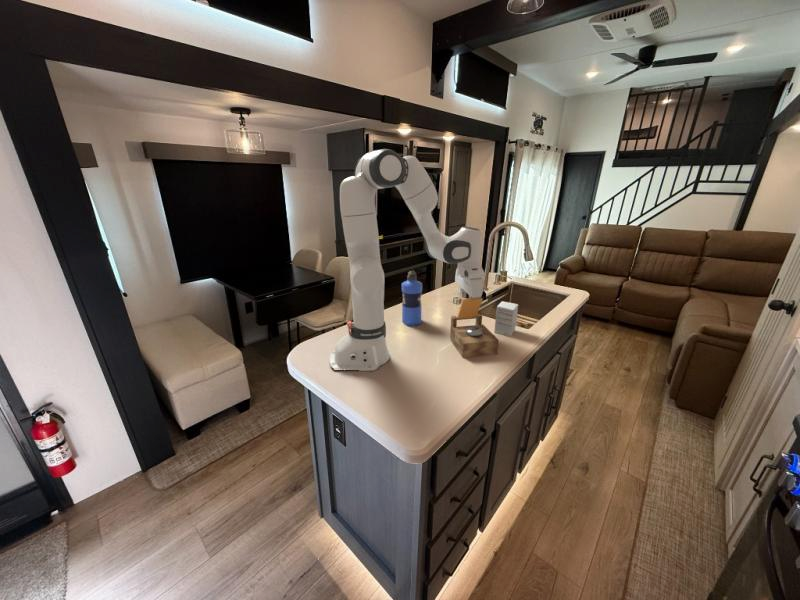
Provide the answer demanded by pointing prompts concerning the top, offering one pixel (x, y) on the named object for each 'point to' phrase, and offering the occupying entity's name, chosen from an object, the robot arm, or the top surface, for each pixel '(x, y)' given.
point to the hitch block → (473, 339)
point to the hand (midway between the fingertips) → (466, 300)
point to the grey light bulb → (473, 331)
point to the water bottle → (411, 300)
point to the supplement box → (506, 318)
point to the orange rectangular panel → (469, 308)
